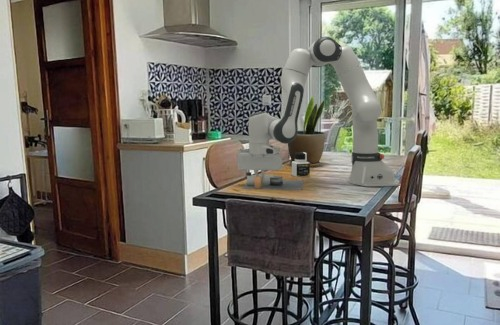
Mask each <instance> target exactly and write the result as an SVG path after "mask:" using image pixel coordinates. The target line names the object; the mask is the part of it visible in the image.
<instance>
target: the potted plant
mask: <svg viewBox="0 0 500 325" xmlns="http://www.w3.org/2000/svg"><path fill="white" fill-rule="evenodd" d="M314 96H315V95H312V96H311V98H310V100H309V102H308V104H307V106H306V110H305V114H304V120H303V127H302V128H303V130H298V132H297V136H296V138H295V139H294V140H293V141H292V142H290V143H287V148H288V156H289V158H290V161H289V163H290V165H291V166H292V161H295V153H297V152H305V153H306V154H307V161H306V162H309V163H310V168H315V167H319V166H320V164H321V158H322V156H323V154H324V150H325V142H326V132H324V131H318V130H317V131H316V127H317V124H318V121H319V119H320V118H321V116H322V114H323V111H324V108H325V107H324V106H325V100H323V101H322V102H320V105H319V106H318V104H317V103H315V97H314ZM314 103H315V104H314Z"/></svg>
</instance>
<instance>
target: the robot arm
mask: <svg viewBox="0 0 500 325" xmlns="http://www.w3.org/2000/svg"><path fill="white" fill-rule="evenodd" d="M328 64H329V65H331V67H333V69H334V70H335V74H336V75H337V78H338V80H339V82H340V84H341V87H342V90H343V91H344V94H345V95H346V97H347V99H348V101H349V103H350V105H351V107H352V108H351V110H352V111H351V113H352V115H351V116H352V133H353V134H352V136H353V137H352V151H351V171H350V176H349V180H348V183H350V184H353V185H357V186H358V185H359V186H362V187H392V186H393V187H394V186H395V187H398V186H400V185H401V182H400V180H399V179H397V178H395V177H396V176H395V171H394V170H393V168H392V167H390V166H389V165H388V164H387V163H385V162H384V161H383V159H385V155H384V154H383V153H380V152H378V151H379V132H378V131H379V130H378V122H377V121H378V119H379V118H380V117H381V114H382V106H381V105H382V104H381V103H380V101H379V99H378V97H377V95H376V93H375V91H374V90H373V88H372V86H371V84H370V82H369V81H368V78H367V76H366V74H365V72H364V69H363V67H362V65H361V63H360V60H359V58H358V56H357V55H356V53H355V52H354V50H353V48H351V47H350V46H349V45H341V44H340V43H338V42H337V41H336V40H335V39H334V38H333V37H330V36H323V37H319V38H318V39H317V40H315V41H314V42H312V43H311V45H310V46H309V47H308V48H306V49H304V48H301V47H300V48H295V49H292V51H291V53H290V54H289V56H288V57H287V59H286V62H285V64H284V67H283V70H282V73H281V77H280V85H281V88H282V90H283V91H284V92H285V94H286V103H285V108H284V111H283V115H282V117H281V118H277V117H275V116H273V115H271V114H269V113H267V112H266V111H257V112H254V113H251V115H249V118H248V127H247V128H248V135H249V140H248V148H245V149H244V148H239V149H238V151H237V153H236V155H237V168H238V170H240V171H245V170H246V171H253V173H254V175H256V176H259V175H261V176H260V177H261V180H263V179H264V177H263V176H264V175H266V172H267V171H274V172H277V171H281V170H282V169H283V158H282V155H281V153H280V151H281V149H280V148H279V147H278V146H274V145H272V144H270V140H273V141H277V142H278V143H279V142H280V143H281V144H284V145H285V144H288V143H290V142H292V141H293V140H294V139H295V138H296V136H297V132H298V131H299V130H298V129H299V128H298V120H299V116H300V111H301V107H302V103H303V98H304V94H305V92H304V91H305V85H306V83H307V79H308V76H309V72H310V70H311V68H322V67H323V66H326V65H328ZM259 171H260V172H261V174H259Z"/></svg>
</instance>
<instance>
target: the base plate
mask: <svg viewBox="0 0 500 325" xmlns="http://www.w3.org/2000/svg"><path fill="white" fill-rule="evenodd" d="M303 187H304V180H302V179H301V180H297V179H296V180H294V179H290V180H289V179H288V180H287V179H285V180H284V179H283V184H282V185H270V184H261V177H260V176H256V177H254V185H247V182H245V184H244V185H243V187H241V189H242V190H276V191H277V190H281V191H282V190H285V191H303Z"/></svg>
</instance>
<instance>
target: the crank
mask: <svg viewBox="0 0 500 325" xmlns="http://www.w3.org/2000/svg"><path fill="white" fill-rule="evenodd" d="M261 175H262V174H259V176H261ZM245 176H246V183H247V185H254V177H256V175H255V174H252V172H250V171H249V172H248V171H246V173H245ZM263 177H264V179H263V180H261V184H270V185H282V184H283V180H284V178H283V177H284V176H280V175H274V174H264V176H263Z"/></svg>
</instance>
